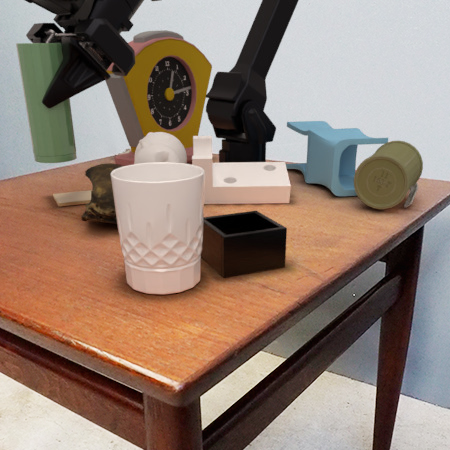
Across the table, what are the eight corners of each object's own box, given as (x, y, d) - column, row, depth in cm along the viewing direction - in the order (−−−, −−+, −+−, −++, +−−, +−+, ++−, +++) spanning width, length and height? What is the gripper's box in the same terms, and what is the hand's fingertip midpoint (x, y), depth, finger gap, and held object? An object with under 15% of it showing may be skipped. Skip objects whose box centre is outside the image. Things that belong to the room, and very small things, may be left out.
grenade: (379, 228, 71) (405, 195, 82) (426, 199, 66) (447, 169, 78) (342, 175, 70) (373, 149, 81) (388, 143, 65) (414, 120, 77)
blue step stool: (330, 197, 76) (284, 169, 94) (381, 194, 78) (326, 167, 95) (335, 139, 73) (286, 121, 90) (388, 137, 74) (330, 120, 92)
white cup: (124, 265, 53) (115, 162, 49) (204, 263, 54) (202, 161, 49) (116, 300, 46) (105, 183, 42) (209, 296, 47) (207, 180, 42)
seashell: (90, 198, 75) (97, 147, 72) (154, 212, 76) (164, 162, 73) (64, 234, 60) (71, 172, 57) (145, 250, 61) (155, 190, 58)
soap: (137, 158, 102) (136, 153, 102) (114, 157, 103) (113, 152, 103) (151, 150, 111) (151, 146, 111) (130, 149, 112) (129, 145, 112)
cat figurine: (161, 128, 72) (166, 114, 83) (98, 172, 74) (111, 153, 85) (198, 182, 76) (198, 162, 86) (137, 222, 78) (145, 198, 89)
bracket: (194, 210, 74) (192, 158, 69) (195, 185, 80) (193, 135, 75) (288, 209, 74) (293, 157, 69) (283, 184, 80) (287, 134, 75)
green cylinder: (84, 158, 67) (71, 42, 62) (49, 164, 64) (31, 43, 58) (61, 153, 70) (46, 43, 65) (26, 159, 67) (7, 43, 61)
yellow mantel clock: (138, 175, 89) (127, 29, 80) (102, 168, 94) (88, 30, 85) (222, 155, 105) (221, 31, 95) (187, 150, 110) (183, 31, 101)
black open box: (255, 246, 58) (256, 210, 56) (285, 267, 53) (287, 227, 51) (199, 255, 56) (198, 217, 54) (223, 278, 50) (223, 237, 49)
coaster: (91, 193, 79) (91, 190, 79) (99, 202, 75) (98, 198, 74) (53, 197, 77) (52, 193, 77) (58, 206, 73) (57, 203, 72)
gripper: (30, -51, 66) (-46, 50, 65) (97, -75, 53) (3, 52, 51) (97, 22, 74) (30, 114, 72) (170, 17, 60) (90, 130, 59)
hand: (36, 103), depth 64 cm, fingers closed on green cylinder, 5 cm apart
